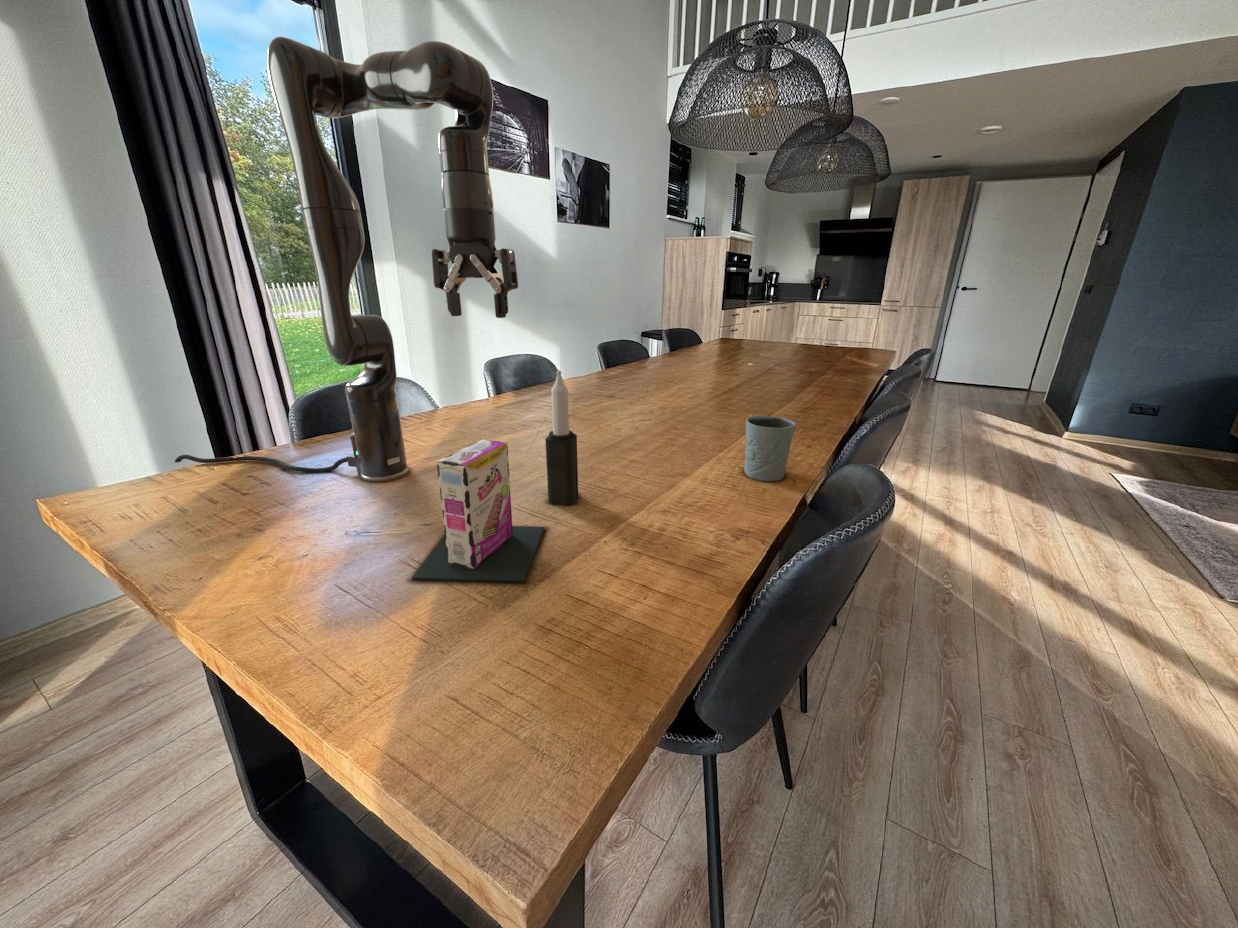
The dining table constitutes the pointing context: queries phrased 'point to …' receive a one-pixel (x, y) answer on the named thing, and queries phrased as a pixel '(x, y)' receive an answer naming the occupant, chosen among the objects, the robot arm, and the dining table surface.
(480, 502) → the candy bar box
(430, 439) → the dining table surface
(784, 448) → the grey green embossed cup
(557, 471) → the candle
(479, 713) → the dining table surface
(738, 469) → the dining table surface
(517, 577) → the mat
